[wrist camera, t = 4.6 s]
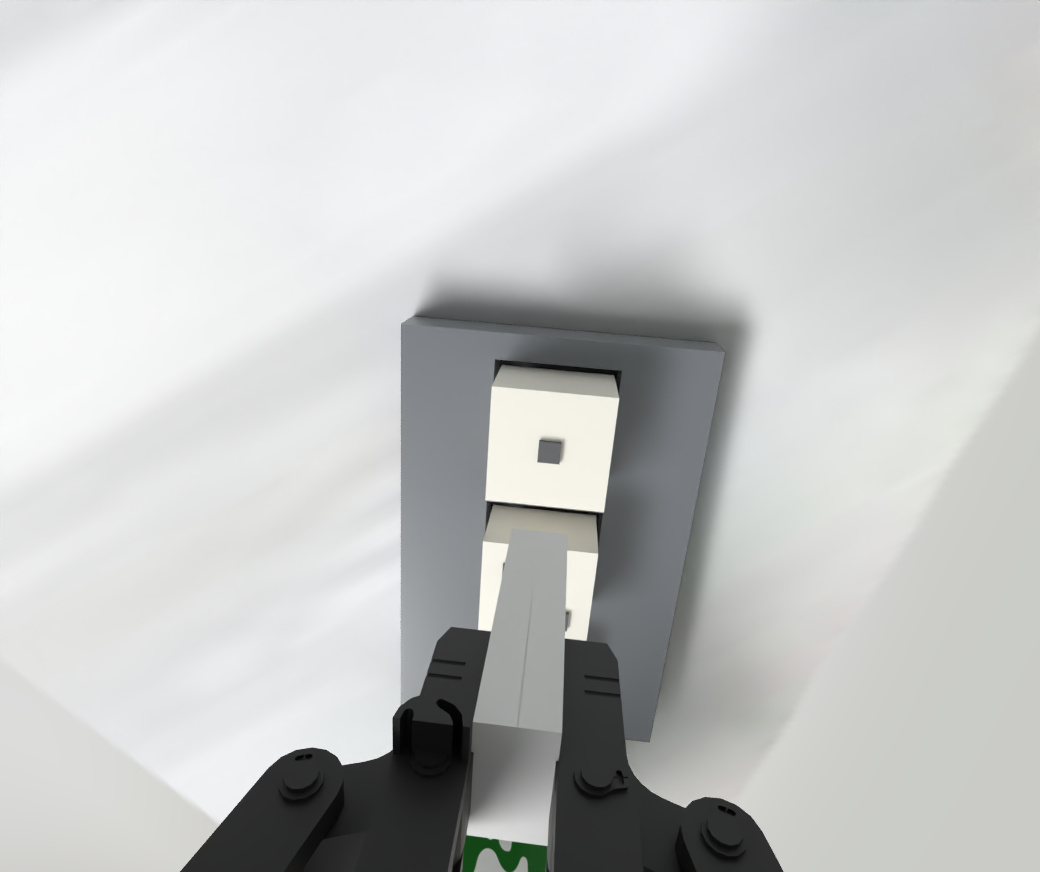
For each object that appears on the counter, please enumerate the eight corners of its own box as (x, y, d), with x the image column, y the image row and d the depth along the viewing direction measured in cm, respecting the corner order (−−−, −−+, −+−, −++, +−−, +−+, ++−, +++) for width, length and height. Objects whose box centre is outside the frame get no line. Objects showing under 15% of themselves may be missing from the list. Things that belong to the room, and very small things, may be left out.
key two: (493, 504, 30) (482, 543, 26) (595, 515, 29) (598, 556, 26) (488, 590, 31) (476, 637, 28) (584, 601, 31) (585, 650, 28)
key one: (501, 365, 27) (491, 387, 24) (614, 375, 27) (619, 399, 23) (495, 467, 29) (484, 502, 25) (600, 477, 29) (604, 514, 25)
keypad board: (412, 316, 28) (401, 324, 27) (715, 342, 28) (725, 352, 26) (409, 685, 36) (400, 711, 34) (645, 714, 35) (649, 742, 34)
